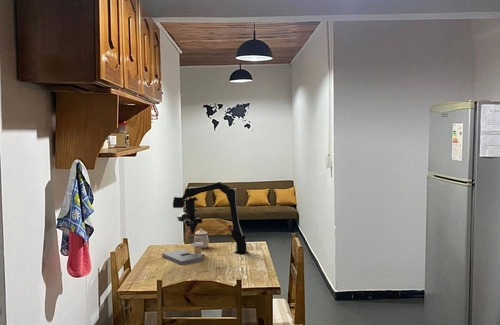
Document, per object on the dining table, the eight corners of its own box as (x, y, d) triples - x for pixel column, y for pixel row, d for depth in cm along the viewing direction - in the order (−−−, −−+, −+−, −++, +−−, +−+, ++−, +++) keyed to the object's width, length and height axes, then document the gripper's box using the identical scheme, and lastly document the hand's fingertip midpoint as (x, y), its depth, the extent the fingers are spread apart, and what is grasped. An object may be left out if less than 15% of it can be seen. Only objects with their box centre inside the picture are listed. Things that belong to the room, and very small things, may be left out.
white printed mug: (191, 247, 304) (190, 229, 303) (202, 244, 310) (201, 227, 309) (203, 249, 295) (202, 231, 295) (214, 247, 302) (213, 229, 301)
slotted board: (203, 260, 269) (203, 257, 269) (181, 264, 261) (181, 261, 261) (183, 252, 288) (183, 249, 288) (162, 256, 280) (162, 253, 280)
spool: (205, 255, 281) (205, 243, 281) (195, 257, 277) (195, 245, 277) (199, 253, 287) (199, 241, 287) (189, 254, 283) (189, 243, 282)
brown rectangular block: (195, 235, 287) (195, 226, 287) (188, 236, 285) (188, 226, 284) (192, 235, 290) (192, 225, 289) (186, 235, 287) (186, 226, 287)
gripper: (171, 207, 289) (172, 232, 290) (186, 211, 274) (186, 237, 275) (187, 205, 296) (187, 230, 296) (202, 209, 281) (203, 235, 281)
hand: (190, 233), depth 287 cm, fingers closed on brown rectangular block, 3 cm apart
